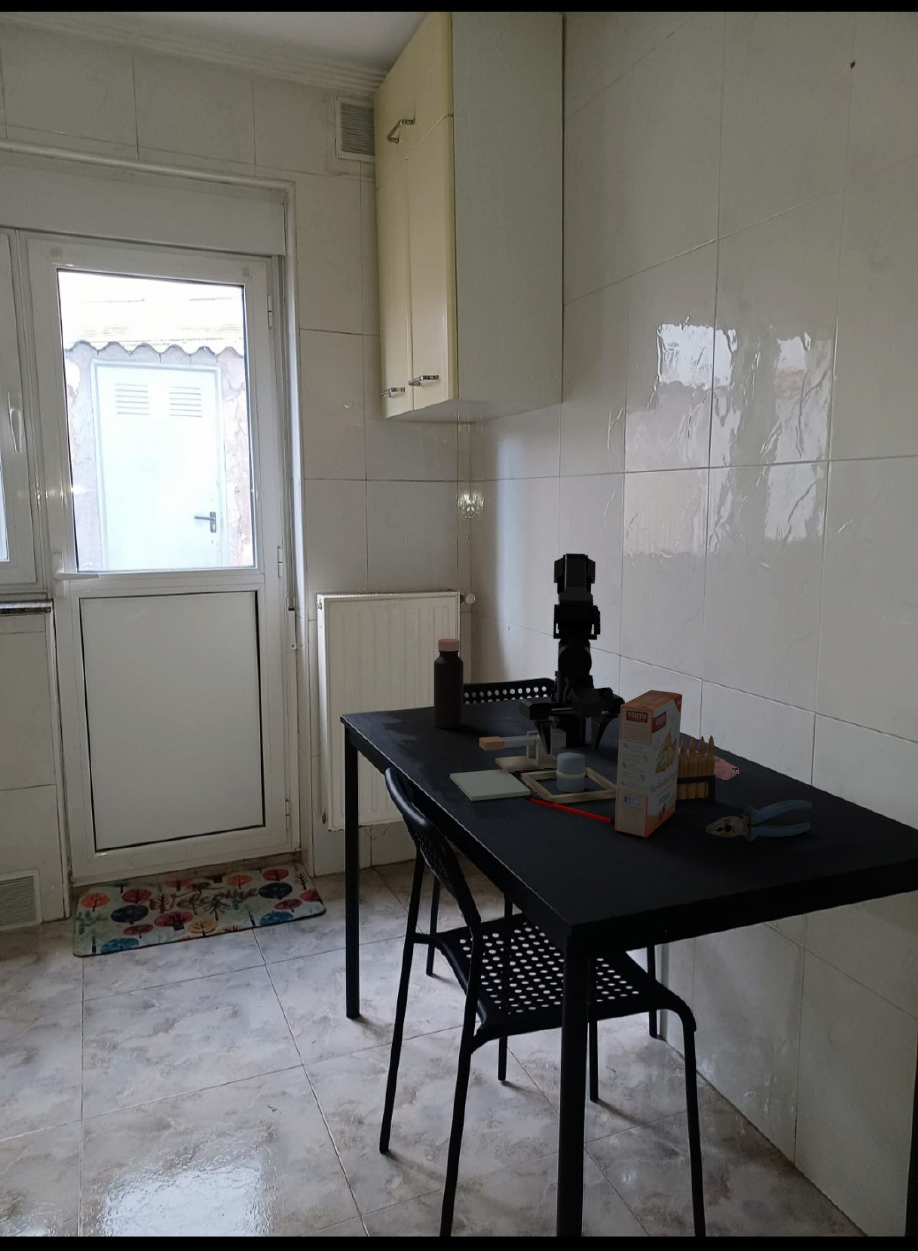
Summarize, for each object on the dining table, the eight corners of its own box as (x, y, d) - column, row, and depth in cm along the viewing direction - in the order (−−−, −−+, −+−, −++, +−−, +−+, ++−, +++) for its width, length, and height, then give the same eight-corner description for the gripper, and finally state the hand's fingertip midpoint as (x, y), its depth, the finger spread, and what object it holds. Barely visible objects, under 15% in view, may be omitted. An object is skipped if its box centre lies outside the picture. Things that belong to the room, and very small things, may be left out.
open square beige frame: (588, 773, 170) (588, 767, 169) (622, 797, 156) (623, 790, 156) (520, 779, 165) (520, 773, 165) (550, 804, 152) (550, 798, 152)
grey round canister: (577, 782, 164) (578, 751, 163) (589, 791, 159) (590, 759, 158) (551, 785, 163) (552, 753, 162) (563, 794, 158) (564, 762, 157)
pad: (505, 773, 169) (505, 769, 169) (530, 795, 157) (530, 790, 157) (450, 778, 166) (450, 773, 166) (471, 801, 154) (471, 796, 154)
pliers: (710, 853, 132) (712, 815, 132) (701, 847, 134) (703, 810, 134) (813, 835, 140) (816, 799, 139) (803, 830, 142) (806, 795, 141)
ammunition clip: (660, 808, 151) (663, 740, 149) (655, 804, 153) (658, 737, 151) (715, 803, 154) (719, 736, 152) (709, 799, 156) (713, 733, 154)
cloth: (741, 787, 164) (742, 775, 164) (623, 775, 171) (624, 763, 171) (744, 757, 183) (744, 745, 183) (637, 746, 190) (638, 736, 190)
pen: (526, 800, 155) (526, 793, 155) (622, 826, 143) (622, 819, 143) (523, 801, 155) (523, 795, 155) (619, 828, 143) (619, 821, 143)
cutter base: (550, 757, 180) (551, 728, 179) (564, 767, 173) (565, 737, 172) (495, 762, 176) (495, 733, 175) (507, 772, 169) (507, 742, 168)
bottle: (445, 720, 208) (445, 636, 205) (468, 724, 204) (469, 639, 201) (427, 726, 203) (428, 640, 200) (451, 730, 199) (452, 643, 196)
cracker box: (649, 840, 137) (654, 709, 134) (612, 832, 140) (617, 704, 137) (678, 813, 149) (684, 692, 146) (644, 806, 152) (648, 687, 149)
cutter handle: (559, 742, 178) (559, 728, 177) (566, 747, 174) (566, 732, 174) (479, 749, 173) (479, 734, 172) (485, 754, 169) (485, 739, 169)
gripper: (543, 680, 147) (540, 769, 150) (642, 673, 153) (638, 760, 155) (518, 667, 158) (517, 751, 160) (612, 662, 163) (609, 743, 166)
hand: (571, 752), depth 160 cm, fingers open, 9 cm apart
